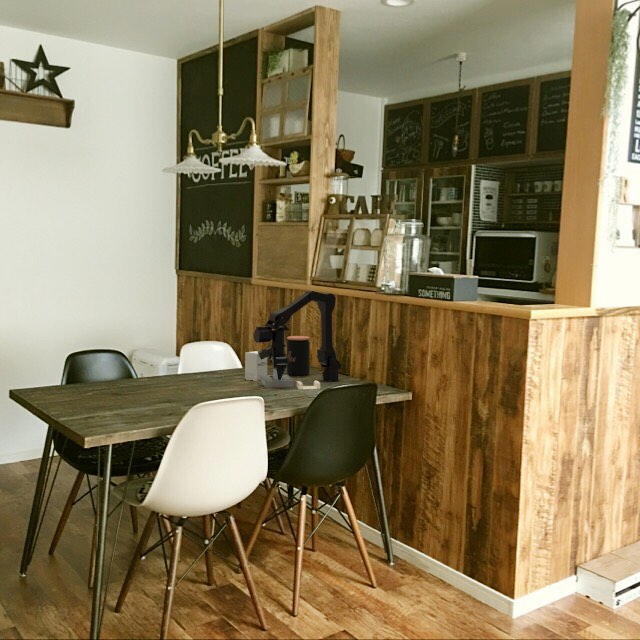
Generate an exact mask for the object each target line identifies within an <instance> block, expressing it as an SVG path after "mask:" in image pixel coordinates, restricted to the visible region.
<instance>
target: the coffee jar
mask: <svg viewBox="0 0 640 640" xmlns="http://www.w3.org/2000/svg"><path fill="white" fill-rule="evenodd" d="M310 338H311V337H310V336H306V335H304V336H303V335H291V336H286V339H287V342H286V358H287V359H288V365H287V366H286V373H287V375H291V376H290V377H297V376H301V377H307V376H308V375H309V374H310V367H311V365H310V362H311V361H310V359H311V357H310V353H311V352H310V351H311V350H310V349H311V347H310V346H311V345H310V344H311V343H310Z"/></svg>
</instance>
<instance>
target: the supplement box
mask: <svg viewBox="0 0 640 640" xmlns="http://www.w3.org/2000/svg"><path fill="white" fill-rule="evenodd" d="M258 351H259V350H258ZM258 351H257V350H255V351H247V352H244V354H245V356H244V358H245V360H244V364H245V365H244V380H245V379H246V381H250V380H253V382H258V381H259V380H260V381H261V375H268V357H266V358H264V359H262V360H261V359H260V357H259V354H258ZM260 381H259V382H260Z"/></svg>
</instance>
